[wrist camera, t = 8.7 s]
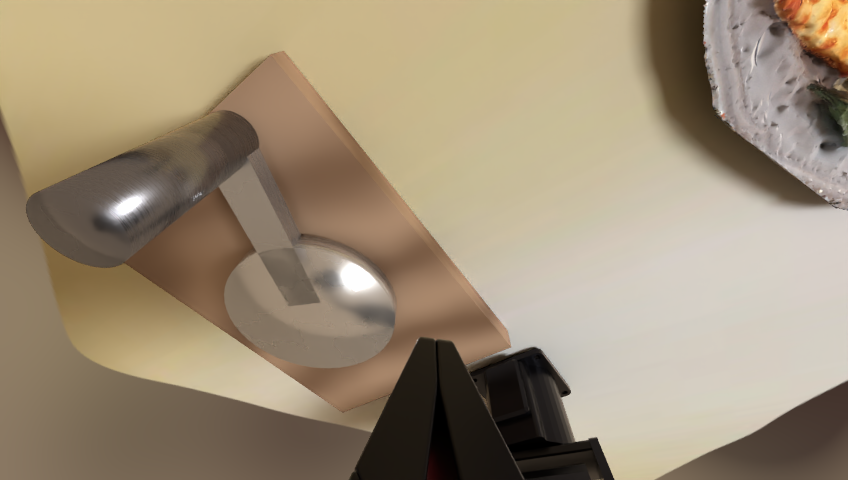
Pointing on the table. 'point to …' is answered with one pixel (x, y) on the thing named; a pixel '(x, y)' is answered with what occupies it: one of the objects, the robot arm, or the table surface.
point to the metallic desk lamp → (262, 222)
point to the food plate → (785, 83)
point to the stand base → (327, 218)
